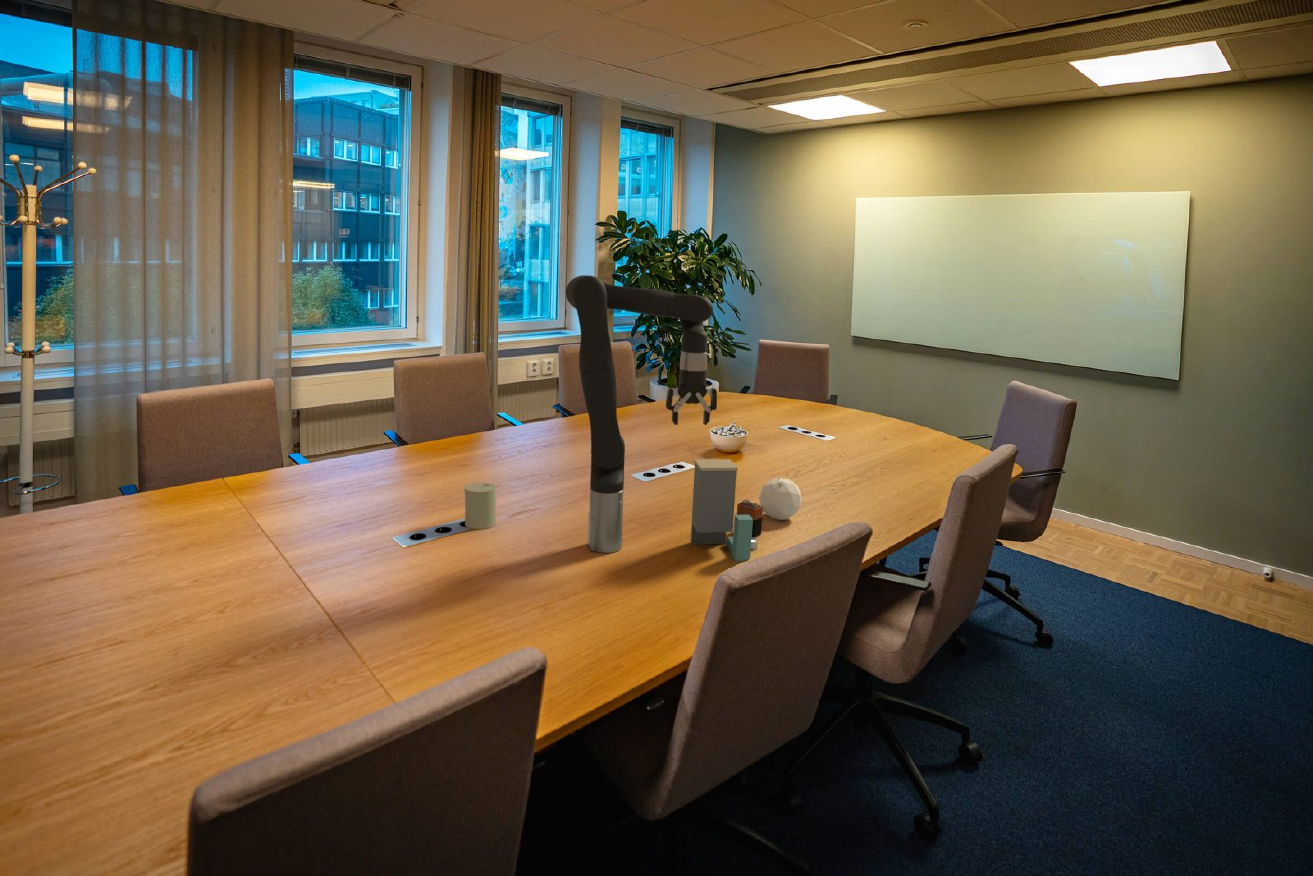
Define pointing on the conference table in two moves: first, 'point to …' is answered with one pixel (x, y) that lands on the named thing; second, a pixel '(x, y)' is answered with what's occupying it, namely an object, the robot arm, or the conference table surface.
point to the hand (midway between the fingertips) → (690, 424)
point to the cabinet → (713, 500)
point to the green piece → (741, 538)
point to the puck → (754, 543)
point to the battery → (752, 514)
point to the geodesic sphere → (780, 498)
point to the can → (480, 505)
